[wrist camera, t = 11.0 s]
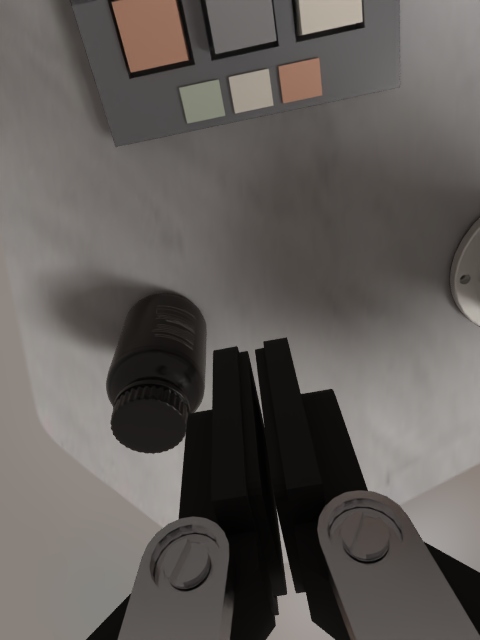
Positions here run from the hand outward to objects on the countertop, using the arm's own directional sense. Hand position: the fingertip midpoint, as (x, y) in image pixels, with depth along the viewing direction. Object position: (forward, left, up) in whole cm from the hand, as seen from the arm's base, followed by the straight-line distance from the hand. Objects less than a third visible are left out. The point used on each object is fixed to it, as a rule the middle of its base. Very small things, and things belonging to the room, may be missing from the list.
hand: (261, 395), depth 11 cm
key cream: (-7, -9, -24) cm, 27 cm away
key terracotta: (+3, -9, -24) cm, 26 cm away
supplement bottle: (+8, +12, -25) cm, 29 cm away
